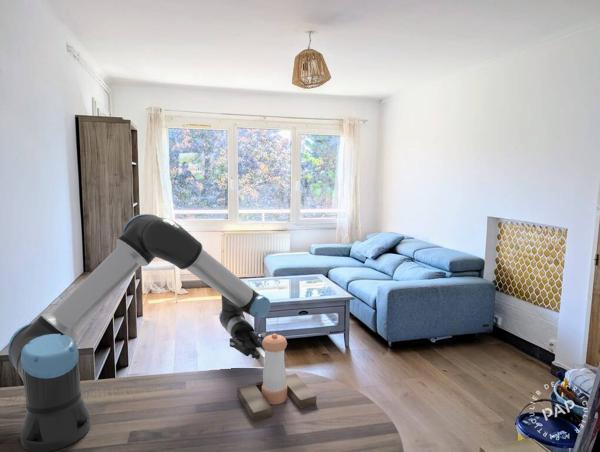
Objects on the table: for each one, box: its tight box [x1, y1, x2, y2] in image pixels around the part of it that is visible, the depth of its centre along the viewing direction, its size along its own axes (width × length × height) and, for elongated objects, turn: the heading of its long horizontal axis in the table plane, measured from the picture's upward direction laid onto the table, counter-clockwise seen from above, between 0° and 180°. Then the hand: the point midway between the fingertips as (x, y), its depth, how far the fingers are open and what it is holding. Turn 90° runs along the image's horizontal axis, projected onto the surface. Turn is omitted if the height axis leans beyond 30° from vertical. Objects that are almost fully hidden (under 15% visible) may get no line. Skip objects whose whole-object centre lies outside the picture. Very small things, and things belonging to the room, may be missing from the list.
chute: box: [237, 373, 317, 422], centre depth 120 cm, size 13×18×2 cm
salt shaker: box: [261, 333, 288, 406], centre depth 119 cm, size 7×7×19 cm
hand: (266, 360), depth 126 cm, fingers closed
